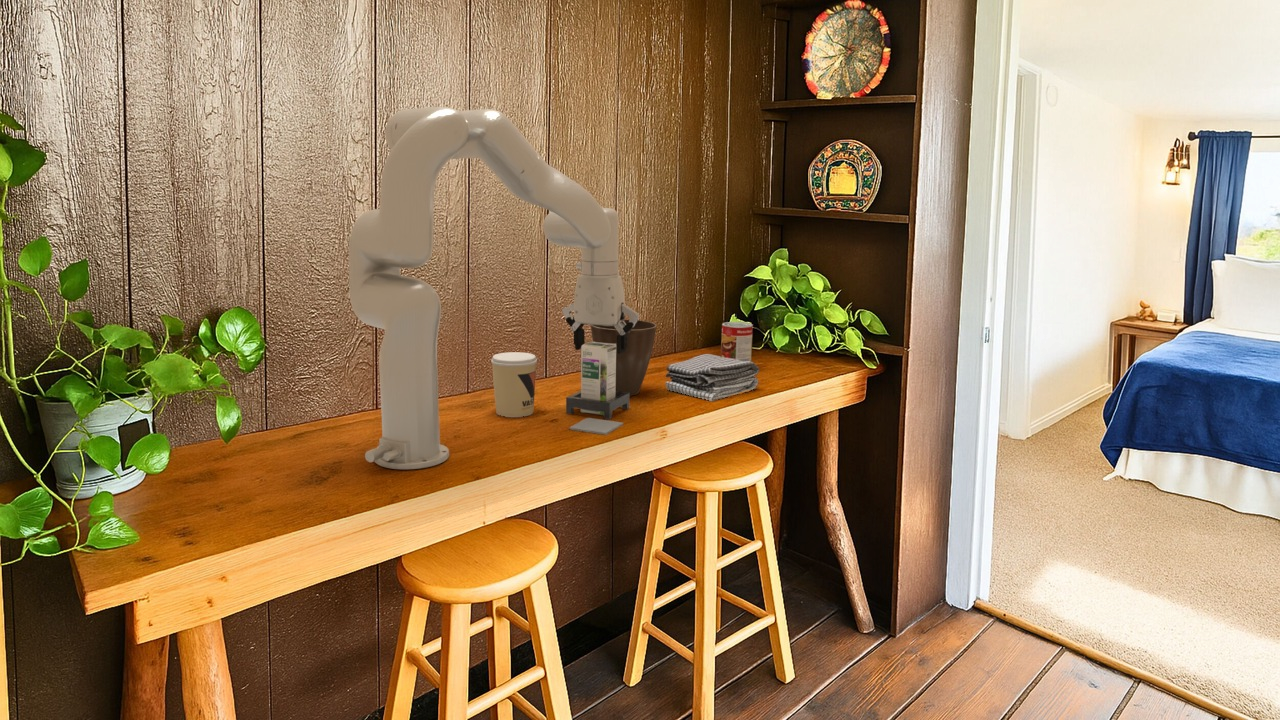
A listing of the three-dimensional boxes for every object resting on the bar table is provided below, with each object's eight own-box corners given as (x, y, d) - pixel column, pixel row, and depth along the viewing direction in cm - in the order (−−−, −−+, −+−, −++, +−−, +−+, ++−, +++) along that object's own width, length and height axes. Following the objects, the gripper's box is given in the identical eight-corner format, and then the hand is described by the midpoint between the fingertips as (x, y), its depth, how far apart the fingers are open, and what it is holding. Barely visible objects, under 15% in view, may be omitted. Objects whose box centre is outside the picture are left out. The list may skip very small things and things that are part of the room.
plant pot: (599, 383, 208) (599, 317, 205) (660, 387, 205) (661, 320, 202) (582, 398, 194) (583, 327, 190) (648, 402, 191) (649, 331, 187)
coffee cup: (528, 420, 175) (528, 362, 173) (485, 416, 177) (484, 359, 175) (543, 408, 184) (542, 353, 182) (501, 405, 186) (500, 350, 184)
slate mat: (606, 434, 166) (606, 432, 166) (569, 429, 169) (569, 427, 169) (623, 424, 173) (623, 422, 173) (587, 419, 176) (587, 417, 176)
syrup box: (579, 412, 182) (579, 344, 179) (592, 406, 187) (592, 340, 184) (604, 416, 179) (604, 347, 176) (616, 409, 185) (617, 342, 182)
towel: (760, 391, 205) (762, 358, 203) (708, 403, 192) (710, 369, 190) (712, 379, 215) (713, 348, 214) (660, 390, 203) (661, 358, 201)
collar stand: (609, 419, 177) (609, 403, 176) (566, 413, 181) (566, 397, 180) (629, 408, 186) (629, 392, 185) (587, 402, 190) (587, 387, 189)
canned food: (735, 365, 231) (737, 320, 228) (756, 370, 225) (759, 325, 223) (714, 368, 226) (715, 323, 224) (735, 374, 220) (737, 327, 218)
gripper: (553, 269, 177) (555, 350, 181) (631, 273, 170) (631, 358, 174) (571, 265, 184) (572, 343, 188) (645, 269, 177) (645, 350, 181)
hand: (600, 350), depth 181 cm, fingers open, 9 cm apart
